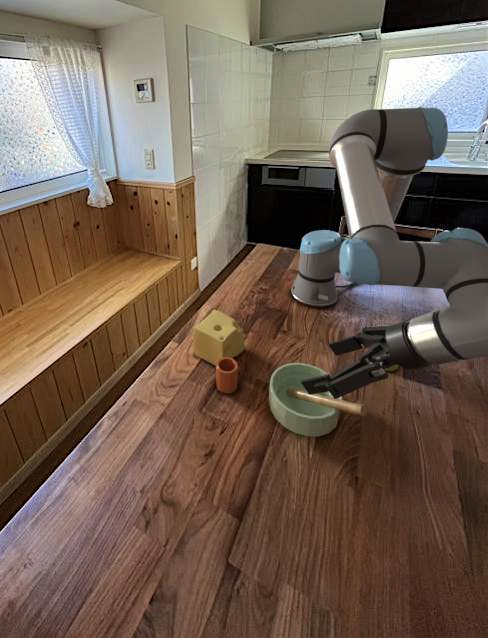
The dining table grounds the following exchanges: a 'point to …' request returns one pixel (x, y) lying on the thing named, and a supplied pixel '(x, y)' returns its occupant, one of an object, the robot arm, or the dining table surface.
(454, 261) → the robot arm
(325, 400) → the stick
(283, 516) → the dining table surface
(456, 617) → the dining table surface
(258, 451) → the dining table surface
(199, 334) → the cheese
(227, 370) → the utensil cup
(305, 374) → the bowl
